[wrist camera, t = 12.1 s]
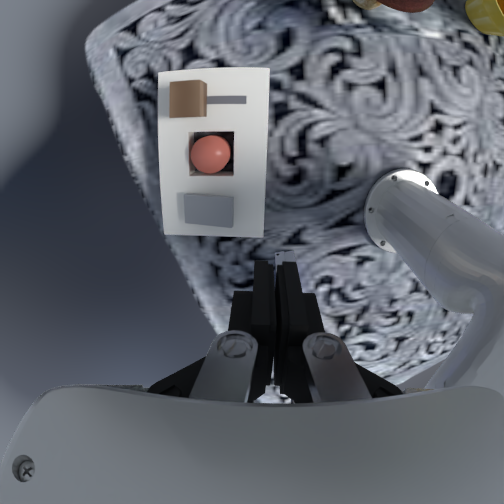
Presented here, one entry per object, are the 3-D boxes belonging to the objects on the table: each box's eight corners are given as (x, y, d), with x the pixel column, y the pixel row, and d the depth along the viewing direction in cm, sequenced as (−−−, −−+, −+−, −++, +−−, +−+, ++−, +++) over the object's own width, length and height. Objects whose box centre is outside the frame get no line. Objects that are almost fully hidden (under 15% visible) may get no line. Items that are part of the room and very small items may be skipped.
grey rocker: (233, 196, 33) (231, 198, 32) (233, 225, 35) (231, 228, 34) (186, 193, 34) (183, 194, 33) (187, 220, 36) (185, 223, 35)
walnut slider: (207, 83, 29) (200, 79, 25) (206, 116, 30) (199, 116, 27) (180, 85, 29) (169, 81, 25) (179, 117, 30) (169, 118, 27)
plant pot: (503, 53, 24) (541, 51, 15) (461, 32, 24) (500, 23, 15) (494, 4, 19) (528, -4, 10) (451, -18, 19) (484, -34, 11)
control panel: (268, 72, 30) (269, 66, 27) (263, 229, 40) (263, 240, 36) (166, 75, 31) (155, 71, 27) (170, 226, 40) (162, 237, 37)
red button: (231, 134, 33) (228, 136, 31) (231, 169, 35) (228, 173, 33) (196, 135, 33) (190, 136, 31) (196, 169, 35) (191, 173, 33)
